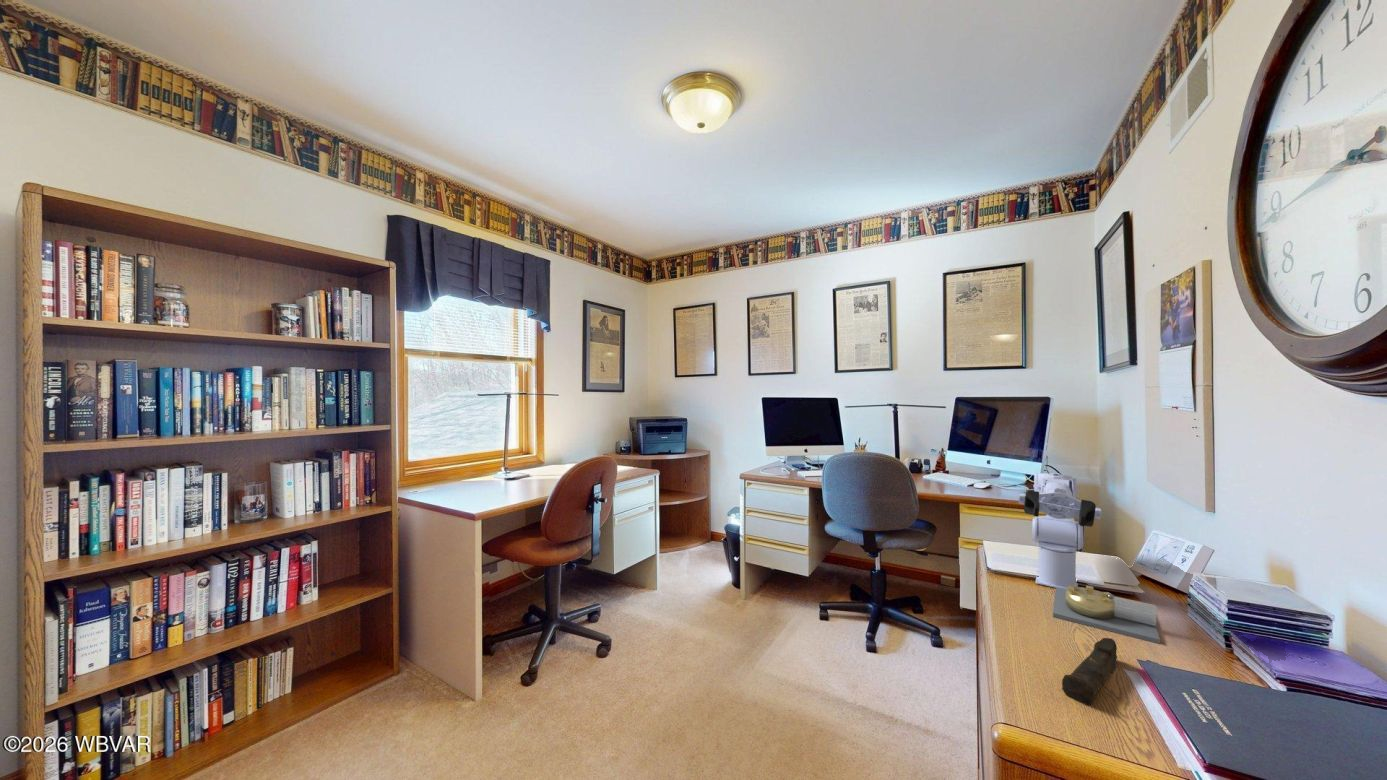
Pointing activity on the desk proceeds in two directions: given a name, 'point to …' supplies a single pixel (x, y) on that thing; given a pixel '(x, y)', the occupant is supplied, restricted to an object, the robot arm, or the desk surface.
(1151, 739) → the desk surface
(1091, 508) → the robot arm
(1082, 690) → the dark brown statuette
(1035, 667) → the desk surface
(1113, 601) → the gold rounded piece
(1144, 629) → the base plate
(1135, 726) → the desk surface
